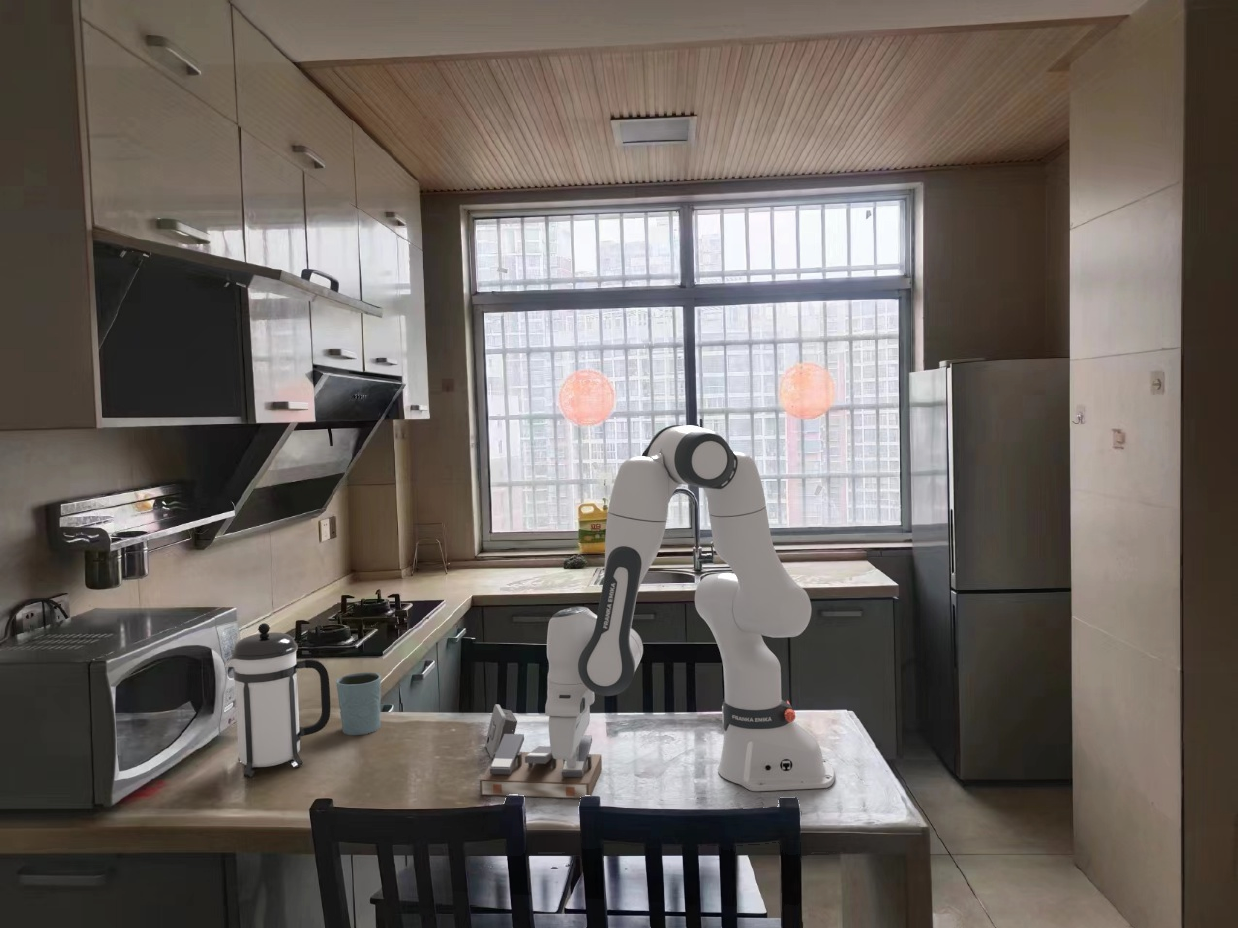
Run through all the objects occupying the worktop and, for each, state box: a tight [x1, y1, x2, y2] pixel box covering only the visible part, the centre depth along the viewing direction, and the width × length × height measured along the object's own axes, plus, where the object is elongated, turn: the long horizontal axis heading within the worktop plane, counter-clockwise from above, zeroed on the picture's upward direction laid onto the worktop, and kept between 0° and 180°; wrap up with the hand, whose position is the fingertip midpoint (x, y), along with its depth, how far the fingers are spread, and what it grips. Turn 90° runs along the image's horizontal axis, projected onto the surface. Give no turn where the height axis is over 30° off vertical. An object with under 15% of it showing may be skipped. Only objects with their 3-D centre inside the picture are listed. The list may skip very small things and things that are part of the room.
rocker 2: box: [561, 734, 593, 777], centre depth 167 cm, size 4×11×1 cm, turn 172°
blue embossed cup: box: [335, 672, 382, 736], centre depth 201 cm, size 10×10×12 cm
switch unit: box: [479, 751, 603, 800], centre depth 168 cm, size 21×14×5 cm
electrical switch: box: [484, 704, 518, 760], centre depth 185 cm, size 9×5×9 cm, turn 17°
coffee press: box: [224, 623, 331, 779], centre depth 181 cm, size 17×16×30 cm
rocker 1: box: [489, 733, 525, 774], centre depth 169 cm, size 4×11×1 cm, turn 172°
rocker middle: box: [525, 745, 552, 764], centre depth 168 cm, size 4×11×1 cm, turn 172°
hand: (572, 764), depth 164 cm, fingers closed, pressing on rocker 2
